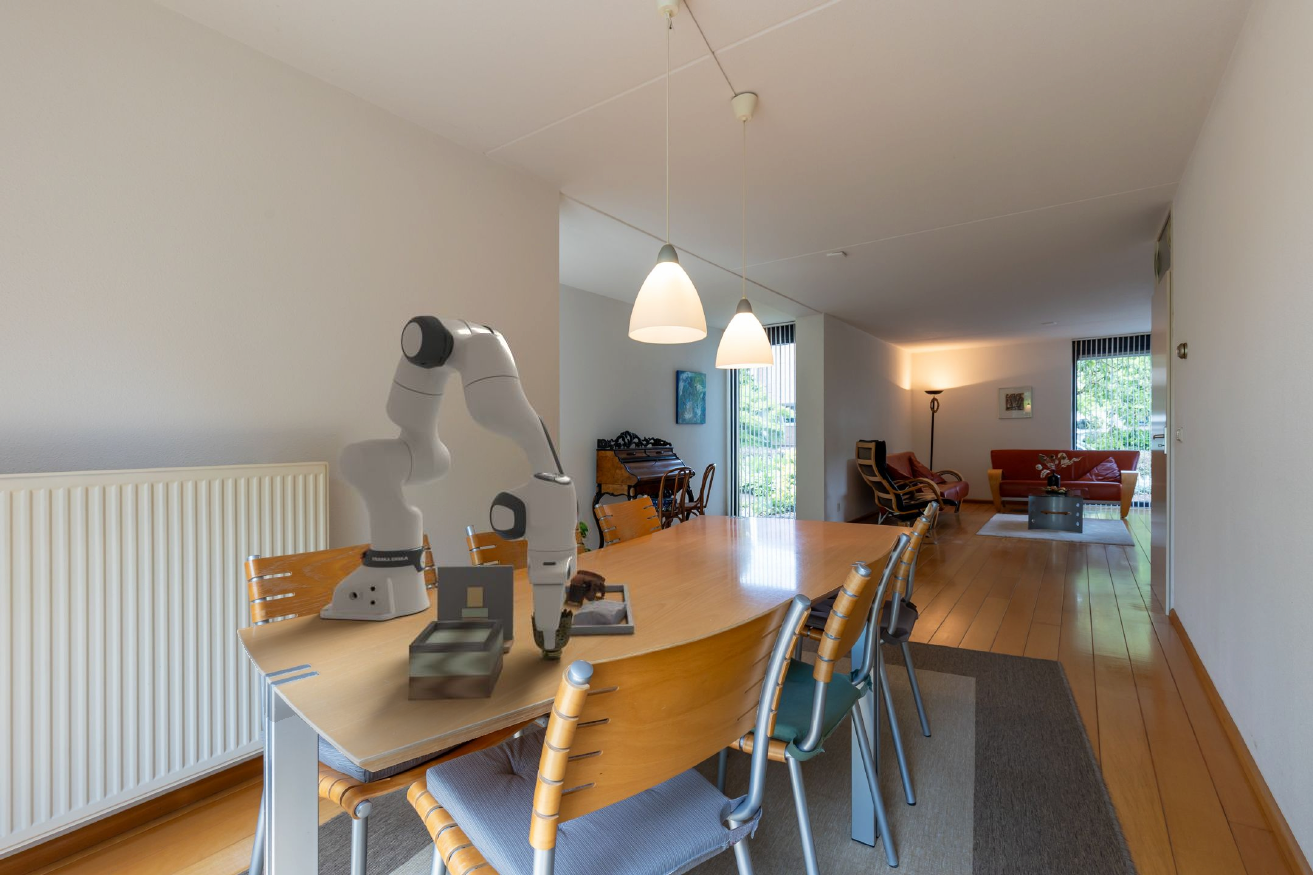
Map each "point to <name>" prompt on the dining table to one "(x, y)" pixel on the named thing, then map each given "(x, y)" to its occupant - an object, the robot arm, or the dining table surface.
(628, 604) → the tray rim
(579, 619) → the stone block
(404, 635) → the dining table surface
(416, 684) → the striped square box
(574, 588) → the pottery mug
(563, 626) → the cup
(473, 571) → the board
